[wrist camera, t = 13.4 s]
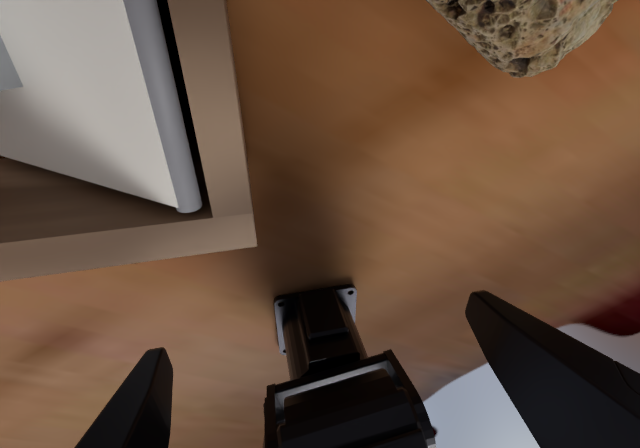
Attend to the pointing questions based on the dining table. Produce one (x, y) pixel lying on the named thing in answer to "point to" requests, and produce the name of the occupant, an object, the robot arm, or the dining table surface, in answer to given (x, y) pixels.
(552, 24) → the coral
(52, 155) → the trapdoor
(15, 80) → the grey cube
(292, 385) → the robot arm
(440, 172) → the dining table surface
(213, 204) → the trapdoor frame
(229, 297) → the dining table surface
